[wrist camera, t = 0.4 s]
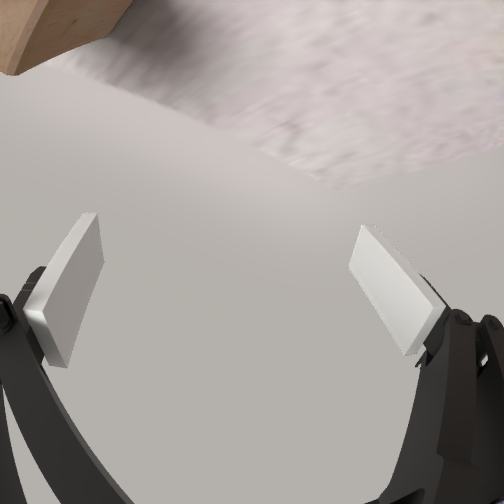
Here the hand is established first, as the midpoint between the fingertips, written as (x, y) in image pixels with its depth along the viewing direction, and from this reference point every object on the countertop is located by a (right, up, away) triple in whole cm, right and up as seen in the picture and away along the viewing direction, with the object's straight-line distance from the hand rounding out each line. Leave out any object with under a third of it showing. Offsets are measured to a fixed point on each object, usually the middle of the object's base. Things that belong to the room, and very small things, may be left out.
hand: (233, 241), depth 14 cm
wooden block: (-17, +31, +7) cm, 36 cm away
